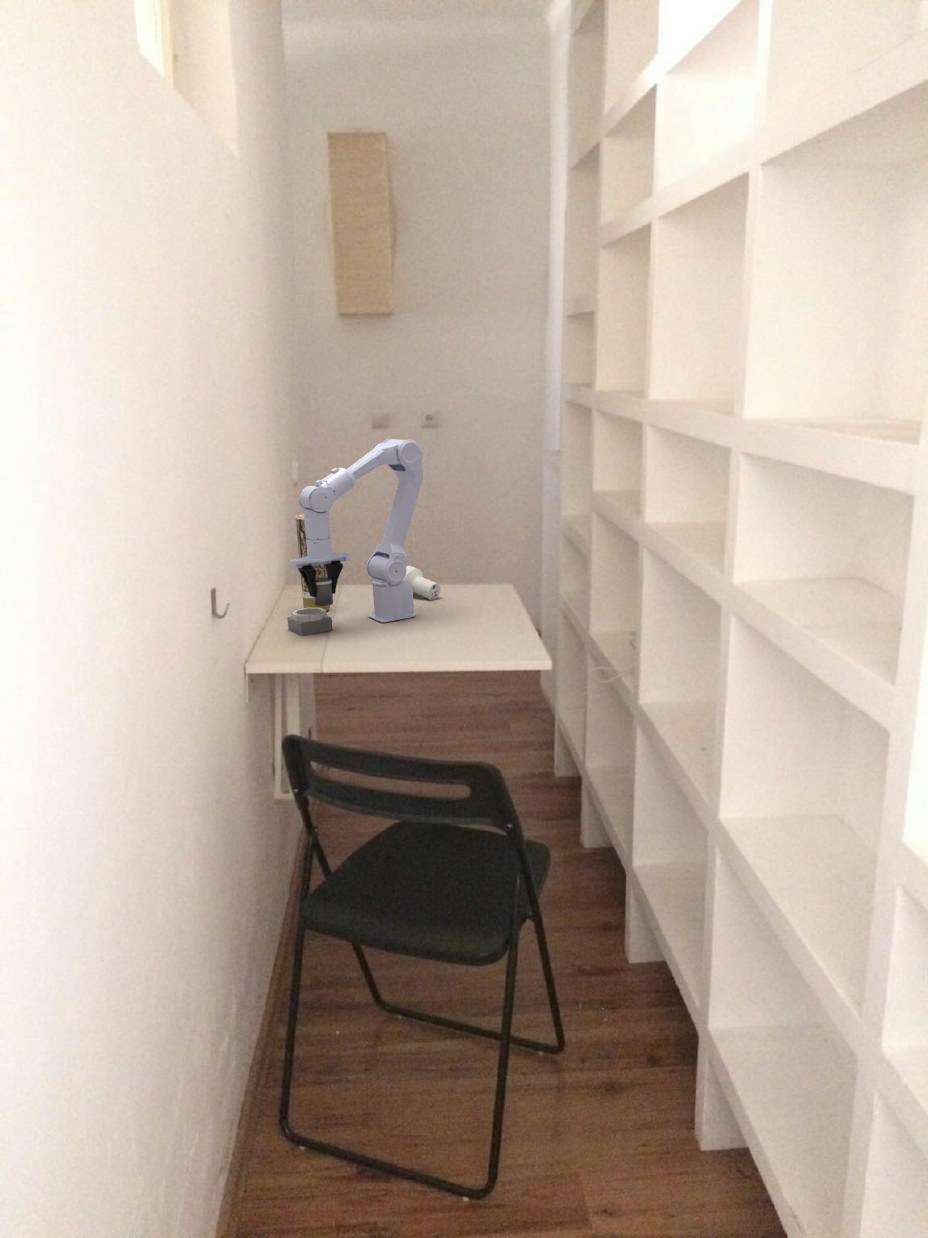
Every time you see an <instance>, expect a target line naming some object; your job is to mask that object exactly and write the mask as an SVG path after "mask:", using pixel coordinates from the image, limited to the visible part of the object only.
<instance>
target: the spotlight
mask: <svg viewBox="0 0 928 1238" xmlns="http://www.w3.org/2000/svg"><path fill="white" fill-rule="evenodd" d="M403 580H407V581H408V582H409V583H410V584H411V587H412V590H413V595H414V596H416V595H418V596H421V597H423V598H425V599H428V600H430V601H433V600H432V599H434V600H436V599H438V597H440V594H441V585H440V583H437V582H435V581H433V580H431V579H428V578H425V577H424V574H423V571H422V570H421V569H420V568H417V567H414V566H412V565H406V575H405V577H404V579H403Z"/></svg>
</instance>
